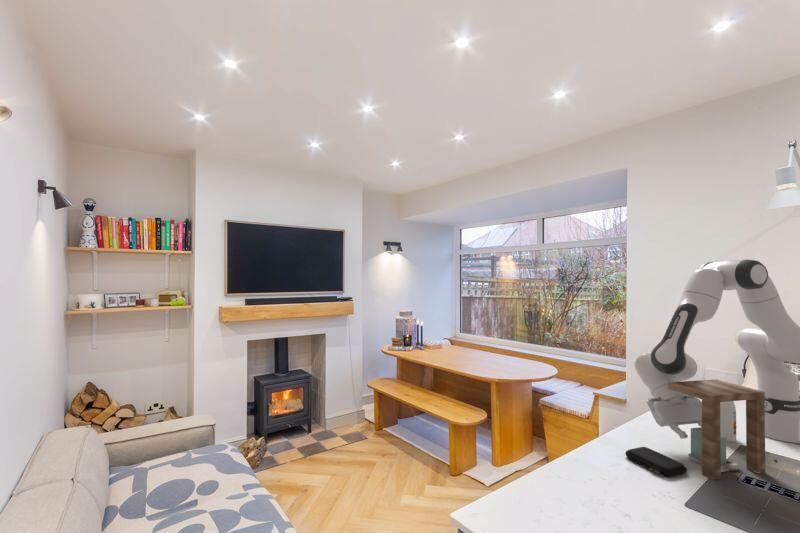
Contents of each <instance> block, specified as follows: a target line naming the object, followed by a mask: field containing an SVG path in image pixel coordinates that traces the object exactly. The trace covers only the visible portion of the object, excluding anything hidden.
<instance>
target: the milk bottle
mask: <svg viewBox="0 0 800 533" xmlns="http://www.w3.org/2000/svg"><path fill="white" fill-rule="evenodd" d="M720 431H721V436H724V437H726V443H735V442H736V441H737V410H736V404H735V401H728V402H720Z"/></svg>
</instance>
